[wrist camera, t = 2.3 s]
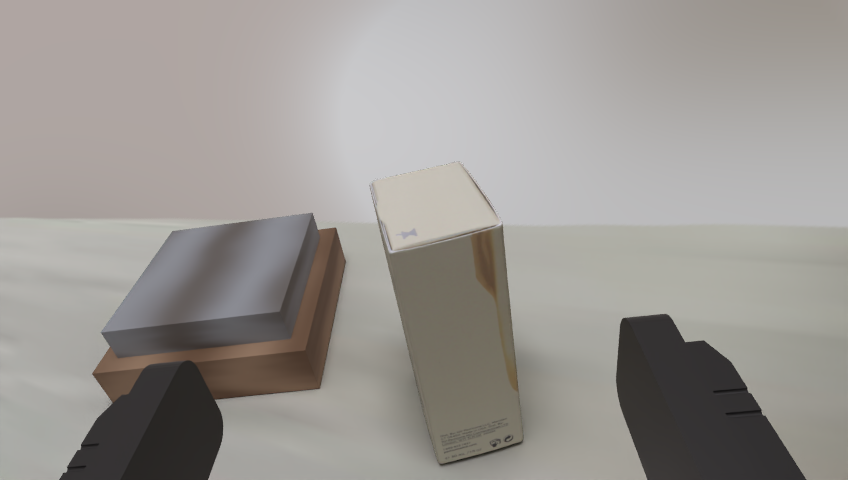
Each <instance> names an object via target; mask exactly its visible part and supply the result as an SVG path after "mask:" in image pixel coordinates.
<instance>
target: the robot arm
mask: <svg viewBox="0 0 848 480" xmlns="http://www.w3.org/2000/svg"><path fill="white" fill-rule="evenodd" d="M616 383H617V392H618V398H619V402H620V406H621V409H622V412H623V415H624V418H625V420H626V423H627V426H628V428H629V431H630V434H631V436H632V439H633V442H634V445H635V447H636V450H637V453H638V455H639V458H640V461H641V463H642V466H643V469H644V471H645V474H646V477H647V479H648V480H806V479H805V477H804V475H803V474H802V472H801V471H800V469H799V468H798V466H797V464H796V463H795V461H794V460H793V458H792V457H791V455H790V454H789V452H788V450H787V449H786V447H785V446H784V444H783V443H782V441H781V439H780V438H779V436H778V435H777V433H776V432H775V430H774V429H773V427H772V425H771V424H770V422H769V421H768V419H767V418H766V416H763V415H762V412H761V408H760V407H759V405H758V404H757V402H756V400H755V399H754V397H753V396H752V394H751V393H748V390H747V386H746V385H745V383H744V382H743V380H742V379H741V377H740V375H739V374H738V372H737V371H736V369H735V368H734V366H733V365H732V363H731V362H730V361H729V360H728V359H727V358H725V357H724V356H723V355H722V354H720V353H719V352H718V351H717V350H715V349H714V348H713V347H711V346H710V345H709V344H708V343H706V342H705V341H694V342H685V341H684V339H683V338H682V336H681V334H680V332H679V331H678V329H677V327H676V325H675V324H674V322H673V320H672V319H671V317H670V316H669V315H667V314H660V315H650V316H640V317H630V318H623V319H622V321H621V324H620V335H619V348H618V360H617V373H616ZM222 436H223V420H222V415H221V412H220V410H219V408H218V406H217V404H216V402H215V400H214V398H213V396H212V394H211V392H210V390H209V388H208V387H207V385H206V383H205V381H204V379H203V377H202V375H201V373H200V371H199V369H198V367H197V366H196V364H195V363H194V362H192V361H190V360H186V361H176V362H167V363H157V364H150V365H148V366H146V367H145V368H144V369H143V371H142V372H141V374H140V375H139V377H138V379H137V380H136V382H135V384H134V385H133V387H132V389H131V391H130V392H129V394H126V395H121V396H120V397H119V398H118V399H117V400H116V401H115V402H114V403H113V404H112V405H111V406H110V407H109V408H108V409H107V410H106V411H104V412H103V413H102V414H101V415H100V416H99V417H98V418H97V420H96V421H95V423H94V424H93V426H92V428H91V429H90V431H89V433H88V434H87V436H86V437H85V439H84V441H83V442H82V444H81V450H77V452H76V454H75V455H74V457H73V458H72V460H71V462H70V463H69V465H68V466H67V468H68V470H67V472H66V473H63V475H62V476H61V478H60V479H59V480H208V478H209V475H210V472H211V470H212V467H213V464H214V462H215V459H216V456H217V453H218V451H219V448H220V445H221V442H222Z"/></svg>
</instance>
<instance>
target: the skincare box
mask: <svg viewBox="0 0 848 480" xmlns="http://www.w3.org/2000/svg"><path fill="white" fill-rule="evenodd" d="M370 190H371V194H372V198H373V203H374V207H375V211H376V215H377V220H378V224H379V228H380V233H381V237H382V241H383V245H384V250H385V254H386V258H387V262H388V267H389V271H390V275H391V279H392V283H393V288H394V292H395V296H396V300H397V304H398V308H399V312H400V316H401V321H402V325H403V329H404V333H405V338H406V342H407V346H408V350H409V354H410V359H411V363H412V367H413V371H414V375H415V379H416V383H417V387H418V392H419V396H420V400H421V404H422V408H423V412H424V416H425V419H426V423H427V427H428V430H429V434H430V437H431V441H432V444H433V447H434V450H435V454H436V457H437V460H438V462H439V463H440V464H443V463H447V462H451V461H455V460H459V459H463V458H467V457H471V456H474V455H478V454H482V453H485V452H489V451H492V450H496V449H499V448H502V447H506V446H509V445H511V444H515V443H518V442H521V441H522V440H523V430H522V420H521V410H520V401H519V391H518V382H517V370H516V359H515V350H514V340H513V331H512V320H511V309H510V299H509V290H508V280H507V268H506V258H505V247H504V236H503V223H502V221H501V219H500V217H499V215H498V214H497V212H496V210H495V209H494V207H493V205H492V204H491V202H490V200H489V199H488V197H487V196H486V195H485V193H484V192H483V190H482V189H481V188H480V186H479V185H478V183H477V182H476V181H475V179H474V178H473V177H472V175H471V174H470V173H469V172H468V170H467V169H466V168H465V167H464V165H463V164H462V163H461V162H460V161H458V162H453V163H450V164H446V165H441V166H436V167H432V168H428V169H423V170H419V171H415V172H410V173H405V174H401V175H396V176H392V177H387V178H382V179H377V180H373V181H372V182H371V183H370Z"/></svg>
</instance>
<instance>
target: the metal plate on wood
mask: <svg viewBox="0 0 848 480" xmlns="http://www.w3.org/2000/svg"><path fill="white" fill-rule="evenodd" d="M345 262H346V261H345V257H344V254H343V250H342V247H341V243H340V240H339V236H338V233H337V229H336V228H329V229H321V230H318V229H317V226H316V223H315V219H314V216H313V213H308V214H301V215H292V216H286V217H277V218H270V219H262V220H255V221H247V222H239V223H232V224H224V225H217V226H209V227H202V228H194V229H186V230H179V231H172V233H171V234H170V235H169V237H168V238H167V240H166V241H165V243H164V244H163V245H162V247H161V248H160V250H159V251H158V252H157V254H156V255H155V257H154V258H153V259H152V261H151V262H150V264H149V265H148V267H147V268H146V269H145V271H144V272H143V274H142V275H141V276H140V278H139V279H138V281H137V282H136V283H135V285H134V286H133V288H132V289H131V291H130V292H129V293H128V295H127V296H126V298H125V299H124V300H123V302H122V303H121V305H120V306H119V307H118V309H117V310H116V312H115V313H114V315H113V316H112V317H111V319H110V320H109V322H108V323H107V324H106V326H105V327H104V329H103V330H102V331H101V333H102V335H103V336H104V338H105V339H106V341H107V342H108V344H109V345H110V348H109V349H108V351H107V352H106V354H105V355H104V357H103V358H102V360H101V361H100V363H99V364H98V366H97V367H96V369H95V370H94V372H93V373H92V374H93V376H94V377H95V378H96V380H97V381H98V383H99V384H100V385H101V387H102V388H103V390H104V391H105V392H106V394H107V395H108V397H109V398H110V399H111V401H112V402H113V403H114V402H115V401H116V400H117V399H118V398H119V397H120V396H121V395H126V394H129V392H130V391H131V389H132V387H133V385H134V384H135V382H136V380H137V379H138V377H139V375H140V374H141V372H142V371H143V369H144V368H145V367H146V366H148V365H150V364H157V363H167V362H176V361H186V360H190V361H192V362H194V363H195V364H196V366H197V367H198V369H199V371H200V373H201V375H202V377H203V379H204V381H205V383H206V385H207V387H208V388H209V390H210V392H211V394H212V396H213V398H214V399H221V398H231V397H240V396H250V395H260V394H269V393H279V392H289V391H298V390H308V389H318V388H320V384H321V379H322V375H323V370H324V365H325V360H326V355H327V350H328V345H329V340H330V335H331V330H332V326H333V321H334V316H335V311H336V306H337V301H338V296H339V291H340V286H341V282H342V277H343V272H344V267H345Z"/></svg>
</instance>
